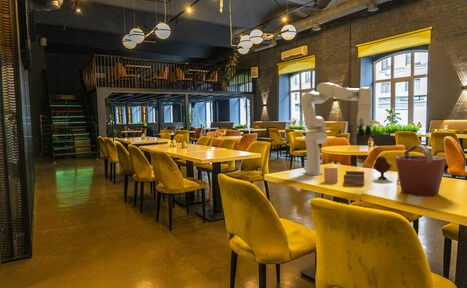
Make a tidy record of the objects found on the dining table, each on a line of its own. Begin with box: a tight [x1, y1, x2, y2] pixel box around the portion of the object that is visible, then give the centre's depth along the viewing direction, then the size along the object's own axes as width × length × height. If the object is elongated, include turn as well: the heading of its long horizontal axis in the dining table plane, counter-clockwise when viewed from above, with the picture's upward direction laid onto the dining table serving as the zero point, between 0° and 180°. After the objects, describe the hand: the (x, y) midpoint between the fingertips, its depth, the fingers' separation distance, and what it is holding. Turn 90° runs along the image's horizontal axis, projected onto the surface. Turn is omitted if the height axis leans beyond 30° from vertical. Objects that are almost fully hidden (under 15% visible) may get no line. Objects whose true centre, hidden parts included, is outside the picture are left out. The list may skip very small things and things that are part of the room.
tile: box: [323, 166, 339, 183], centre depth 206 cm, size 3×8×9 cm, turn 67°
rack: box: [342, 170, 366, 187], centre depth 200 cm, size 17×12×6 cm
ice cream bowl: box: [373, 155, 392, 180], centre depth 210 cm, size 11×11×15 cm
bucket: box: [395, 144, 446, 197], centre depth 168 cm, size 24×22×25 cm
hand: (364, 135), depth 201 cm, fingers open, 9 cm apart
